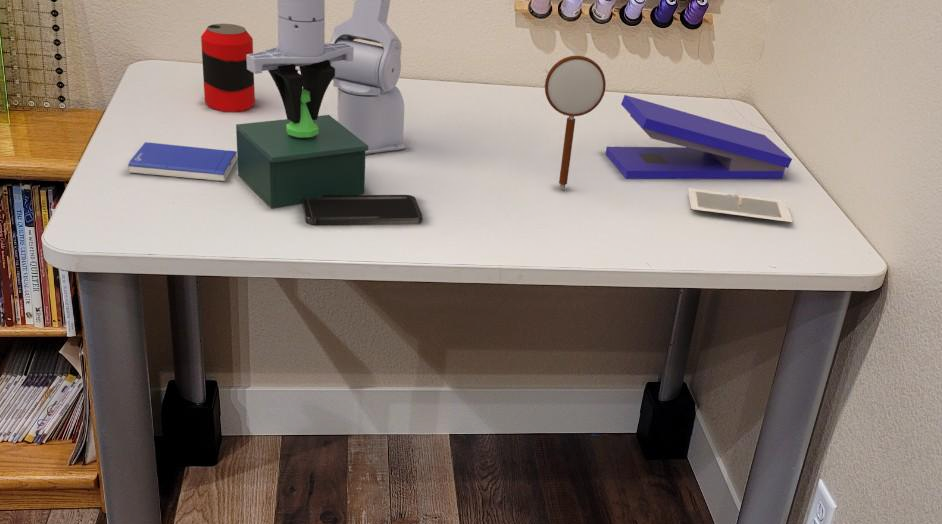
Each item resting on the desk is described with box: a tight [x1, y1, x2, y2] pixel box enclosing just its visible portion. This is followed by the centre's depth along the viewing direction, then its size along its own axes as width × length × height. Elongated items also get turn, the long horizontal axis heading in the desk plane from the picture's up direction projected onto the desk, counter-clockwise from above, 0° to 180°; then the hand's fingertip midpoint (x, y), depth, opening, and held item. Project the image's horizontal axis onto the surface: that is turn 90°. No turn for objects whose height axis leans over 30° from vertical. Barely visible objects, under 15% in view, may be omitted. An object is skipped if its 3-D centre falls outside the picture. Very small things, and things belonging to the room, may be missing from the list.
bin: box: [235, 129, 366, 209], centre depth 142 cm, size 11×13×7 cm
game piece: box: [286, 87, 319, 138], centre depth 138 cm, size 4×4×6 cm
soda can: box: [200, 23, 256, 113], centre depth 164 cm, size 8×8×12 cm
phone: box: [302, 194, 423, 227], centre depth 139 cm, size 8×1×15 cm
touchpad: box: [687, 187, 793, 223], centre depth 155 cm, size 8×15×2 cm, turn 88°
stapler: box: [605, 94, 793, 180], centre depth 167 cm, size 12×28×10 cm, turn 107°
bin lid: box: [235, 114, 368, 163], centre depth 140 cm, size 12×13×1 cm
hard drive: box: [127, 141, 238, 182], centre depth 144 cm, size 2×8×12 cm
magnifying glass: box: [544, 55, 607, 191], centre depth 149 cm, size 9×2×20 cm, turn 100°
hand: (302, 119), depth 139 cm, fingers closed on game piece, 2 cm apart
